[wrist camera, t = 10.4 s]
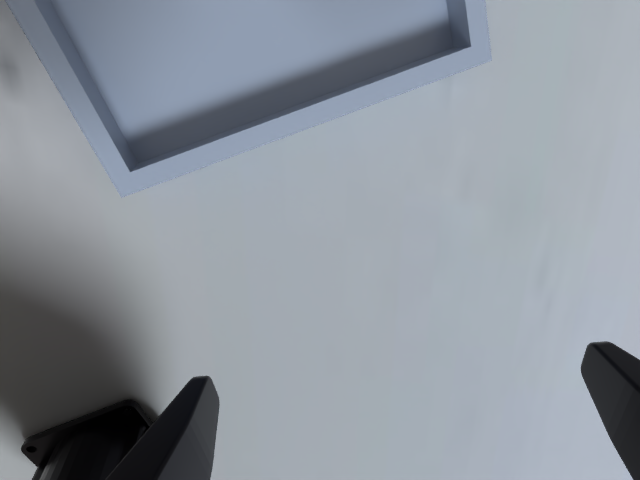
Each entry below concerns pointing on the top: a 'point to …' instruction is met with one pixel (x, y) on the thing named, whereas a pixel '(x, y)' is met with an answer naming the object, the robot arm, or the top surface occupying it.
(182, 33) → the tray
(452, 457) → the top surface
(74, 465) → the robot arm
